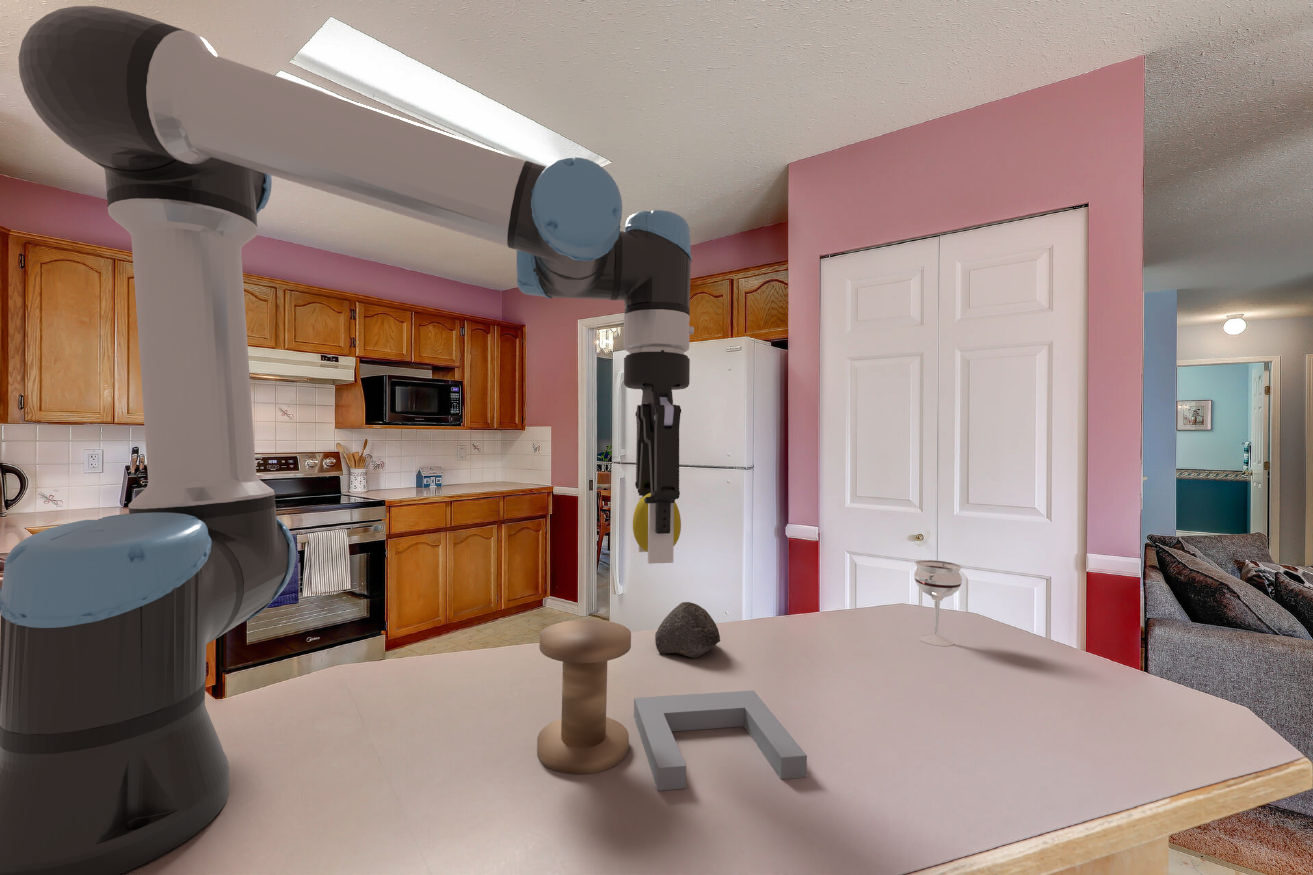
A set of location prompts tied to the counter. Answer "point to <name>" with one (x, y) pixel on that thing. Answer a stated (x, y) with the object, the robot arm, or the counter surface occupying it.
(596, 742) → the bobbin
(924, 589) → the wineglass
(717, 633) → the stone
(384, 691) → the counter surface
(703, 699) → the notch board
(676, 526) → the lemon
